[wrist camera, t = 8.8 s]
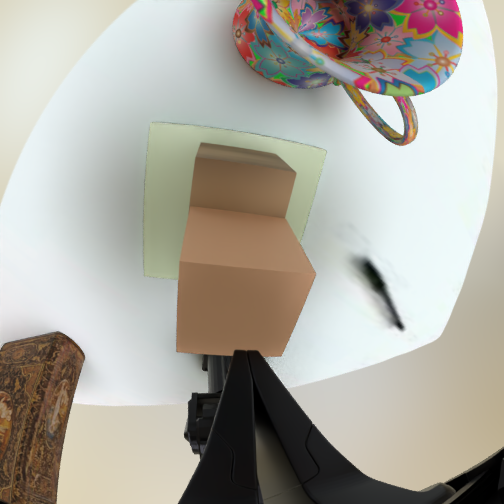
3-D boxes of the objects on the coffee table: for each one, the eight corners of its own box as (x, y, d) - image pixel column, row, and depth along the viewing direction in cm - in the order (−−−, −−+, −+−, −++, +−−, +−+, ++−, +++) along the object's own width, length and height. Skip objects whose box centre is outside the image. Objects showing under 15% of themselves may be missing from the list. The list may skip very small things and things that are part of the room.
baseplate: (283, 283, 24) (285, 288, 23) (146, 270, 22) (144, 276, 21) (322, 148, 18) (326, 150, 17) (153, 122, 16) (150, 123, 15)
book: (63, 329, 24) (17, 532, 3) (90, 359, 27) (64, 545, 6) (3, 343, 25) (-40, 480, 4) (25, 366, 28) (-7, 498, 7)
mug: (202, 6, 12) (190, -79, 3) (321, -27, 10) (399, -86, 1) (280, 148, 18) (346, 203, 9) (385, 106, 17) (495, 133, 8)
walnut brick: (248, 276, 22) (256, 320, 18) (186, 270, 21) (181, 314, 17) (276, 153, 17) (296, 172, 13) (200, 142, 16) (195, 157, 12)
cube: (285, 218, 14) (316, 274, 10) (264, 292, 17) (281, 356, 12) (190, 206, 13) (179, 261, 9) (183, 285, 16) (176, 351, 11)
